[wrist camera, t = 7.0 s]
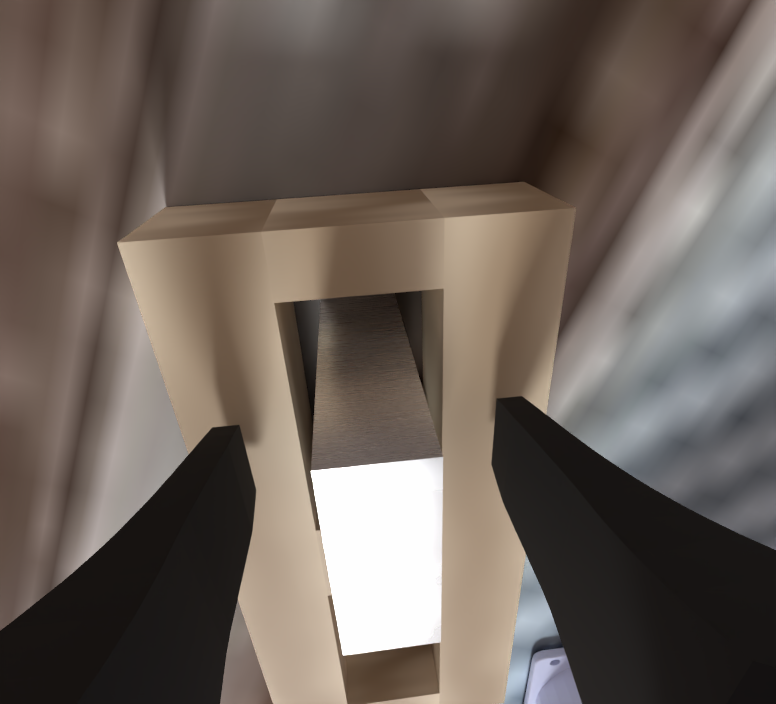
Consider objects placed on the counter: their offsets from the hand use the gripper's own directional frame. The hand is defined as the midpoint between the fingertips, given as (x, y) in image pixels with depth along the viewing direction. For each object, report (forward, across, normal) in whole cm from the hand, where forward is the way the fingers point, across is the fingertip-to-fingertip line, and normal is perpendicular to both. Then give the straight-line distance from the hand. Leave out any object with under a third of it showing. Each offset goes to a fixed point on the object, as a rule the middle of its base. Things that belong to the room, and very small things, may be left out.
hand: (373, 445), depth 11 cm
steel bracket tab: (+4, 0, 0) cm, 4 cm away
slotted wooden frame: (+4, 0, +5) cm, 6 cm away
